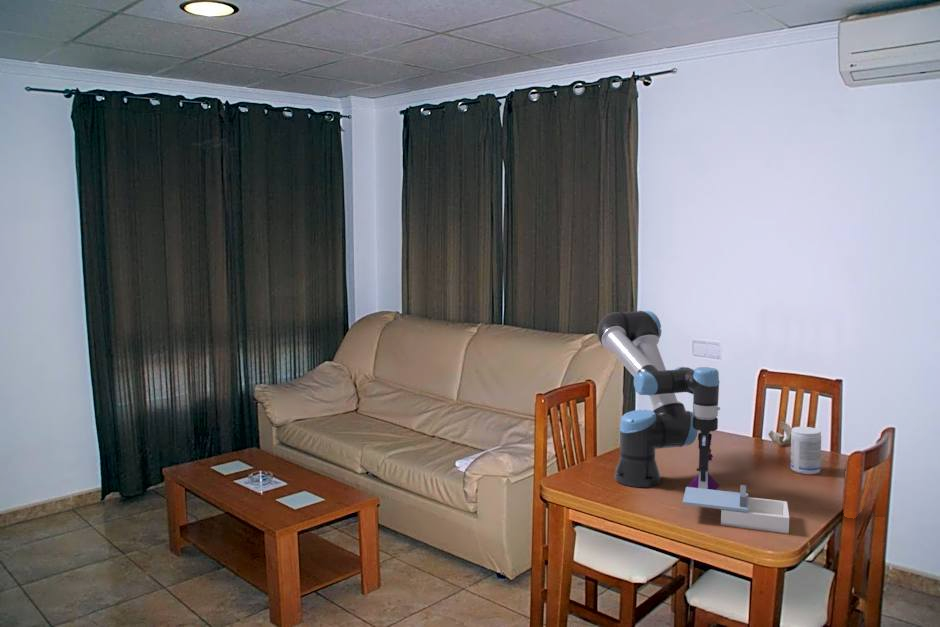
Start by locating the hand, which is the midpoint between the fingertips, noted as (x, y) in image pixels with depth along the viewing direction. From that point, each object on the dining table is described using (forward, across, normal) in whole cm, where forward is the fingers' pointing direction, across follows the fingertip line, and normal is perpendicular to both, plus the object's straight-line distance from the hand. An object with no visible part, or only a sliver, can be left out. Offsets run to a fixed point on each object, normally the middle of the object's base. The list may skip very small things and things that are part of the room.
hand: (703, 485), depth 230 cm
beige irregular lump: (+4, +66, -25) cm, 71 cm away
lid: (-1, -15, -4) cm, 16 cm away
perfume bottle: (+4, 0, 0) cm, 4 cm away
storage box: (+3, -16, -15) cm, 22 cm away
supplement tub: (+4, +36, -32) cm, 48 cm away
